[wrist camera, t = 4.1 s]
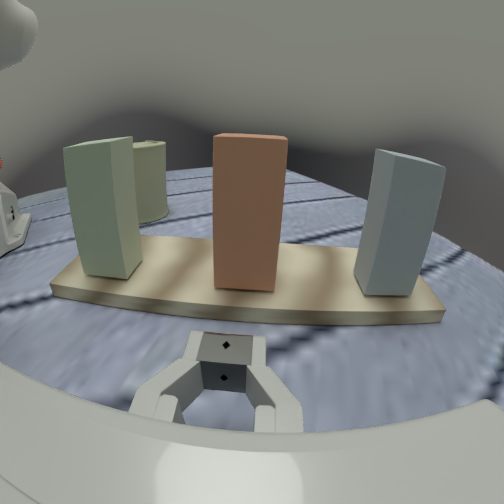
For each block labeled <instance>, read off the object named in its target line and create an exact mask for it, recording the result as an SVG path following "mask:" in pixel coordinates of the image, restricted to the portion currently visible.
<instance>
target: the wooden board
mask: <svg viewBox="0 0 504 504" xmlns="http://www.w3.org/2000/svg"><path fill="white" fill-rule="evenodd" d="M140 240H141V247H142V254H143V259H142V260H141V261H140V263H139V264H138V265H137V267H136V268H135V269H134V270H133V272H132V273H131V275H130V276H129V277H128V279H123V278H114V277H105V276H97V275H89V274H84V272H83V268H82V264H81V260H80V256H79V255H78V256H77V257H76V258H75V259H74V260H73V261H72V262H71V263H70V264H69V265H67V266H66V267H65V268H64V269H63V270H62V271H61V272H60V273H59V274H58V275H57V276H56V277H55V278H54V279H53V280H52V281H51V282H50V283H49V284H50V287H51V289H52V292H53V295H54V296H57V297H62V298H67V299H72V300H77V301H83V302H88V303H94V304H100V305H106V306H112V307H118V308H125V309H131V310H138V311H145V312H153V313H161V314H169V315H178V316H187V317H196V318H207V319H218V320H230V321H243V322H259V323H278V324H304V325H391V324H415V323H433V322H440V321H441V319H442V317H443V315H444V313H445V311H446V309H445V307H444V306H443V305H442V303H441V302H440V301H439V299H438V298H437V296H436V295H435V294H434V292H433V291H432V290H431V289H430V287H429V286H428V285H427V283H426V282H425V281H424V279H423V278H422V277H421V276H420V274H419V275H418V278H417V281H416V284H415V286H414V289H413V292H412V294H411V295H364V293H363V291H362V289H361V286H360V284H359V282H358V280H357V278H356V276H355V274H354V272H353V270H354V266H355V262H356V257H357V253H358V249H359V248H345V247H330V246H316V245H301V244H285V243H279V252H278V262H277V272H276V281H275V291H265V290H249V289H234V288H220V287H214V268H213V239H202V238H184V237H166V236H146V235H140Z"/></svg>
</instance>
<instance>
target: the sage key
mask: <svg viewBox="0 0 504 504" xmlns="http://www.w3.org/2000/svg"><path fill="white" fill-rule="evenodd" d="M63 153H64V166H65V175H66V184H67V192H68V199H69V205H70V212H71V217H72V223H73V228H74V233H75V238H76V243H77V247H78V252H79V256H80V260H81V264H82V268H83V272H84V274H89V275H97V276H105V277H114V278H123V279H128V277H129V276H130V275H131V273H132V272H133V270H134V269H135V268H136V267H137V265H138V264H139V263H140V261H141V260H142V259H143V254H142V247H141V240H140V232H139V223H138V214H137V204H136V192H135V178H134V160H133V137H123V138H113V139H105V140H97V141H89V142H85V143H81V144H77V145H73V146H69V147H66V148H63Z"/></svg>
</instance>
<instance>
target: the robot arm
mask: <svg viewBox="0 0 504 504" xmlns="http://www.w3.org/2000/svg"><path fill="white" fill-rule="evenodd" d="M37 31H38V22H37V18H36V15H35V14H34V12H33V11H32V10H31V9H29V8H27V7H25V6H23V5H22V4H20V3H19V2H18V1H17V0H0V71H1V70H4V69H6V68H8V67H10V66H12V65H14V64H17V63H19V62H21V61H22V60H23V59H24V58H25V57H26V55H27V54H28V53H29V52H30V50H31V48H32V46H33V44H34V42H35V40H36V36H37ZM0 159H1V158H0ZM1 161H2V160H0V169H1V168H2V167H1V166H2V165H1V164H2V162H1ZM31 219H32V217H31V214H28V213H25V214H20V211H19V206H18V202H17V198H16V195H15V194H14V193H13V192H12V191H10V190H9V189H8V188H7V187H6V186H5V185H3V184H2V183H1V182H0V256H2V255H3V254H5V253H6V252H8V251H10V250H12V249H14V248H17V247H19V246H20V245H22V244H23V243H24V241H25V237H26V234H27V231H28V228H29V225H30V222H31ZM252 342H253V343H252ZM204 389H208V390H220V391H230V392H239V393H245V394H246V396H247V397H248V399H249V401H250V402H251V404H252V406H253V407H254V409H255V418H254V426H253V432H250V431H235V430H224V429H215V428H207V427H199V426H192V425H186V424H185V421H184V418H183V415H182V412H183V411H184V410H185V409H186V408H187V407H188V406H189V405H190V404H191V403H192V402H193V401H194V400H195V399H196V398H197V397H198V396H199V395H200V394H201V393H202V392H203V391H204ZM0 504H504V410H503V409H502V408H500V407H499V406H498V405H496V404H495V403H493V402H492V401H490V400H487V399H483V400H480V401H477V402H474V403H471V404H468V405H465V406H462V407H459V408H455V409H452V410H449V411H445V412H442V413H438V414H434V415H430V416H426V417H422V418H417V419H413V420H408V421H403V422H398V423H392V424H387V425H380V426H374V427H366V428H358V429H349V430H338V431H324V432H304V429H303V416H302V405H301V404H300V403H299V402H298V400H297V399H296V398H295V397H294V396H293V395H292V393H291V392H290V391H289V390H288V389H287V387H286V386H285V385H284V384H283V383H282V381H281V380H280V379H279V378H278V377H277V375H276V374H275V373H274V372H273V370H272V369H271V368H270V367H266V336H252V335H235V334H222V333H213V332H205V331H204V332H203V331H195V330H192V331H191V333H190V335H189V339H188V342H187V345H186V348H185V351H184V355H183V358H182V359H180V358H179V359H177V360H176V361H175V362H173V363H172V364H170V365H169V366H168V367H166V368H165V369H164V370H162V371H161V372H159V373H158V374H157V375H155V376H154V377H153V378H151V379H150V380H148V381H147V382H146V383H144V384H143V385H141V386H140V387H138V389H137V391H136V394H135V396H134V399H133V402H132V404H131V407H130V409H129V412H125V411H121V410H118V409H114V408H111V407H107V406H104V405H101V404H98V403H95V402H92V401H89V400H86V399H83V398H80V397H77V396H74V395H72V394H69V393H66V392H64V391H61V390H59V389H56V388H54V387H52V386H49V385H47V384H45V383H42V382H40V381H38V380H36V379H33V378H31V377H29V376H27V375H25V374H23V373H21V372H19V371H17V370H15V369H13V368H11V367H9V366H7V365H6V364H4V363H2V362H0Z"/></svg>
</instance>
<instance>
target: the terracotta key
mask: <svg viewBox="0 0 504 504" xmlns="http://www.w3.org/2000/svg"><path fill="white" fill-rule="evenodd" d="M287 147H288V140H287V139H286V138H285V137H284V136H272V135H254V134H225V133H223V134H219V135H216V136H214V137H213V268H214V287H220V288H234V289H249V290H265V291H275V281H276V272H277V262H278V252H279V242H280V231H281V221H282V210H283V198H284V186H285V174H286V161H287Z"/></svg>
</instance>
